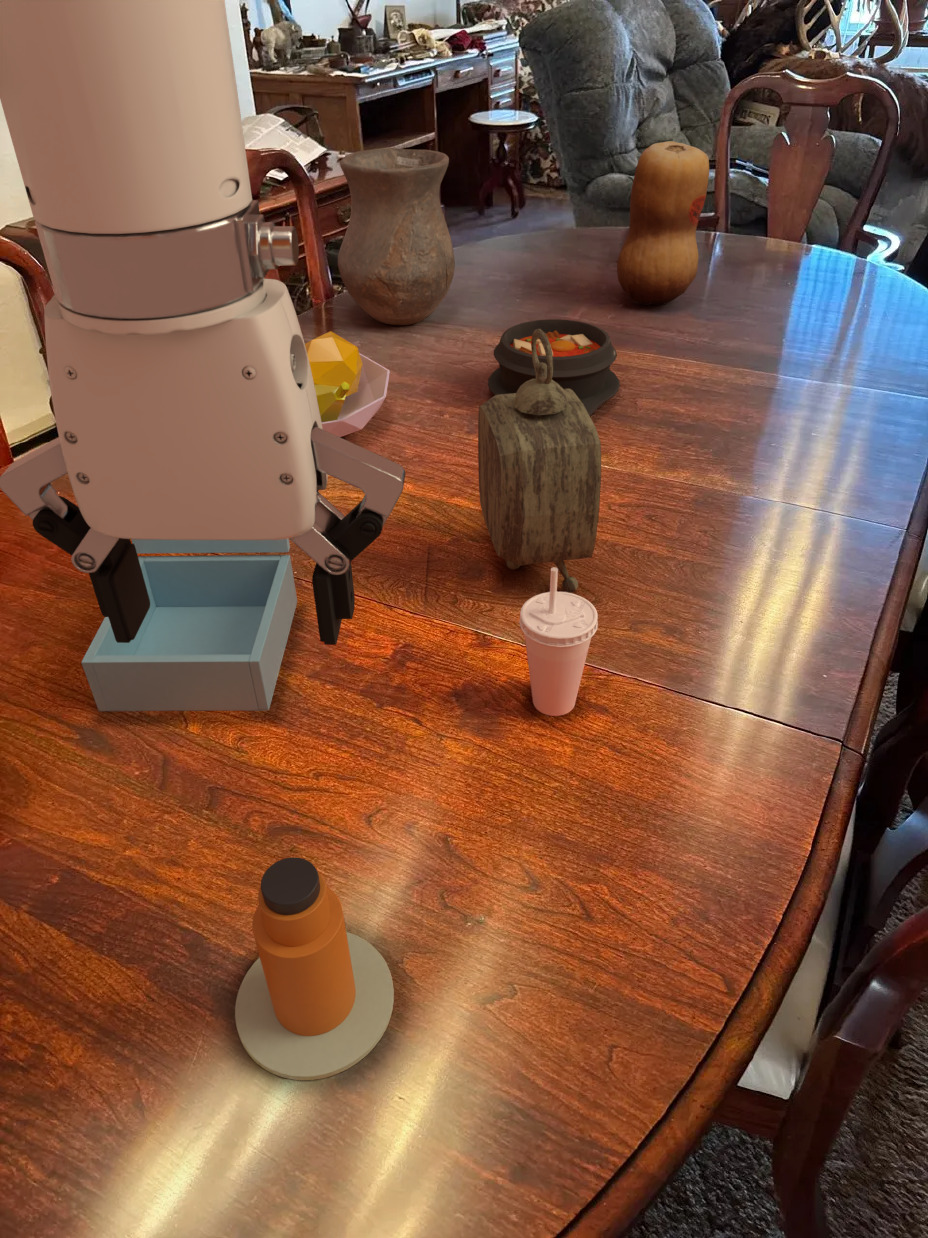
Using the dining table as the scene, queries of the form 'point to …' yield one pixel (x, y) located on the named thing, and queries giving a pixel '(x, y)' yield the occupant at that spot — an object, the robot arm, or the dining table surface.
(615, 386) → the casserole
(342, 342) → the fruit bowl
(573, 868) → the dining table surface
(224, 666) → the grey-blue rectangular box
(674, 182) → the butternut squash
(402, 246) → the vase
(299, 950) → the bottle
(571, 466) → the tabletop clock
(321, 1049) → the coaster
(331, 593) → the robot arm
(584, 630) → the smoothie
